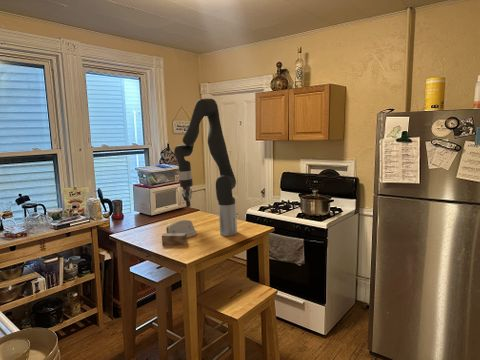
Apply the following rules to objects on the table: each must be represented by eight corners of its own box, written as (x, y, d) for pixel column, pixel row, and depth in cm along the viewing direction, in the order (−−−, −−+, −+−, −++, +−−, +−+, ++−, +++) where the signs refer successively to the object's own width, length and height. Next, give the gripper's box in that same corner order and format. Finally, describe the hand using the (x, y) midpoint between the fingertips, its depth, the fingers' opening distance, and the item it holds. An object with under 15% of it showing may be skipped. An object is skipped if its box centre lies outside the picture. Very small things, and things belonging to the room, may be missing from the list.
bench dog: (187, 242, 170) (186, 233, 169) (185, 245, 166) (184, 235, 165) (165, 242, 171) (164, 233, 171) (162, 245, 167) (161, 235, 167)
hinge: (172, 242, 171) (167, 223, 172) (168, 243, 175) (163, 225, 176) (197, 234, 183) (192, 217, 184) (193, 235, 186) (188, 218, 187)
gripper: (188, 179, 185) (191, 209, 188) (194, 176, 198) (197, 204, 201) (176, 180, 186) (179, 209, 189) (182, 177, 199) (185, 204, 202)
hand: (188, 206), depth 195 cm, fingers closed
